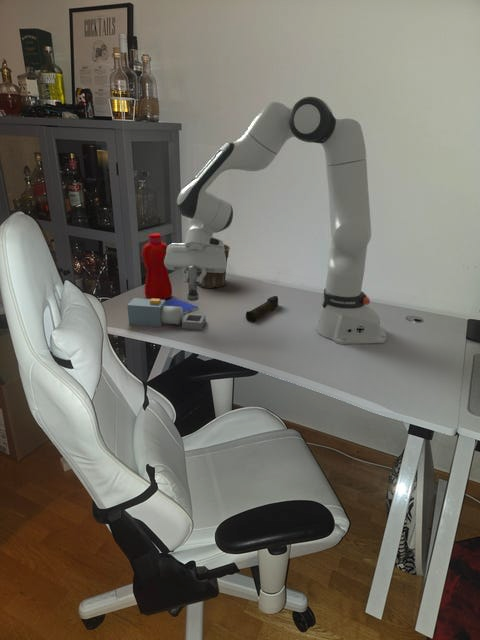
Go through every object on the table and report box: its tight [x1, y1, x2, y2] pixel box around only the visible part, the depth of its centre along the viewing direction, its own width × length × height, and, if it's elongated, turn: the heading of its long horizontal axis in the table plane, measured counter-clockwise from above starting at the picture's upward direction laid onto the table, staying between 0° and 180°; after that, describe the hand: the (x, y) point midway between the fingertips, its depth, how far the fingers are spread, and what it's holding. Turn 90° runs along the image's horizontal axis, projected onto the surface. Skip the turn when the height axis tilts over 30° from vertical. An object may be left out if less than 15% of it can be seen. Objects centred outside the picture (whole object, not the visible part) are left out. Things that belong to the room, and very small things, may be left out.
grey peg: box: [187, 265, 200, 302], centre depth 132 cm, size 4×4×11 cm
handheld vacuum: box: [126, 297, 207, 331], centre depth 137 cm, size 25×7×8 cm, turn 83°
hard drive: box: [165, 297, 199, 315], centre depth 151 cm, size 2×8×12 cm
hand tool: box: [245, 295, 279, 323], centre depth 147 cm, size 19×4×5 cm, turn 142°
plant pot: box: [197, 243, 231, 289], centre depth 173 cm, size 16×16×16 cm
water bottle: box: [141, 232, 173, 301], centre depth 156 cm, size 9×11×25 cm
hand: (192, 282), depth 131 cm, fingers closed on grey peg, 3 cm apart
